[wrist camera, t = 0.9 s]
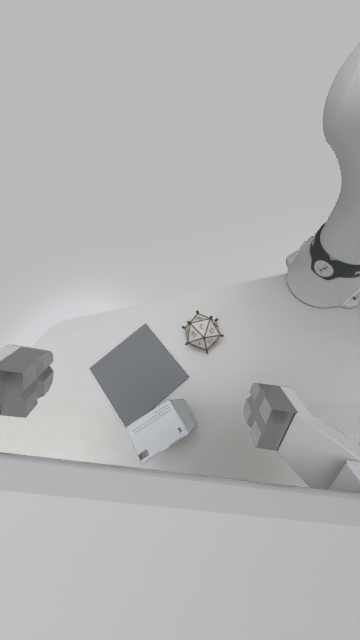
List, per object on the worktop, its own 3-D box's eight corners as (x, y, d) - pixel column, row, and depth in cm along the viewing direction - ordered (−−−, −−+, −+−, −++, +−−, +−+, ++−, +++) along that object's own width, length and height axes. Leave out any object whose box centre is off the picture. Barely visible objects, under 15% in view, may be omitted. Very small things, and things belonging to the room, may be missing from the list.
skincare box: (183, 398, 47) (170, 395, 34) (198, 425, 45) (191, 433, 31) (149, 420, 47) (123, 425, 33) (163, 448, 44) (140, 466, 31)
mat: (145, 324, 55) (145, 323, 55) (189, 377, 49) (188, 376, 49) (90, 368, 53) (89, 368, 53) (128, 429, 47) (127, 430, 46)
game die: (195, 342, 56) (167, 325, 50) (218, 317, 54) (192, 296, 48) (211, 365, 48) (181, 349, 43) (238, 338, 47) (210, 317, 41)
